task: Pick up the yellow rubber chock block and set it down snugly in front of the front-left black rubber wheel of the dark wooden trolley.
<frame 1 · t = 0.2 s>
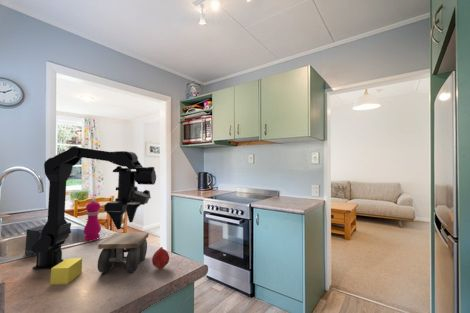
hand: (125, 225, 82), 14 cm above the counter, tool pointing down, fingers open, 9 cm apart
small box: (44, 251, 93), on the counter
onion: (160, 270, 77), on the counter
pepper mill: (92, 239, 108), on the counter
chock: (66, 278, 71), on the counter
trolley: (124, 265, 80), on the counter
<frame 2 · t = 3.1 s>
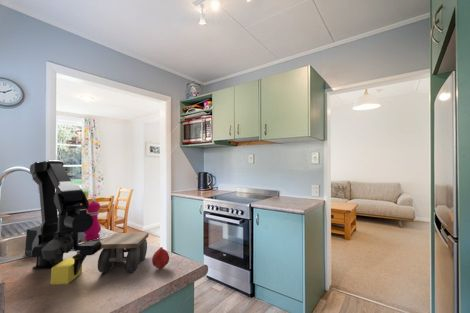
hand: (67, 274, 71), 1 cm above the counter, tool pointing down, fingers closed on chock, 5 cm apart
chock: (67, 278, 71), on the counter, touching gripper
everything else where it was.
when the fingers open (2 cm above the counter, at t = 8.3 s): chock drops 1 cm, on the counter.
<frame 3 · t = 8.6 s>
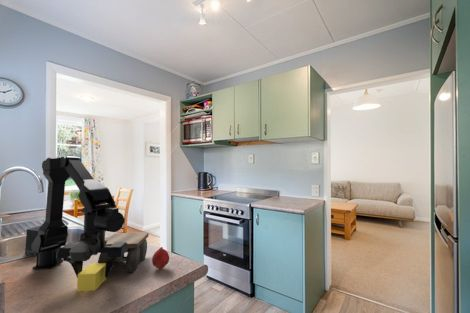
hand: (93, 277, 68), 2 cm above the counter, tool pointing down, fingers open, 8 cm apart
chock: (92, 284, 68), on the counter
everything else where it was.
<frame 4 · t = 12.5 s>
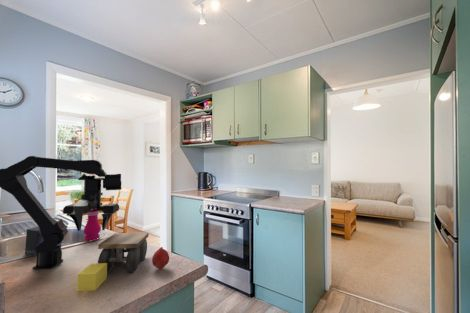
hand: (91, 230, 86), 11 cm above the counter, tool pointing down, fingers open, 9 cm apart
nothing on the counter moved.
at the end: chock 0.9 cm from the target spot on the counter beside the trolley, on the counter; chock tilted 0°; the gripper is holding nothing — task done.
